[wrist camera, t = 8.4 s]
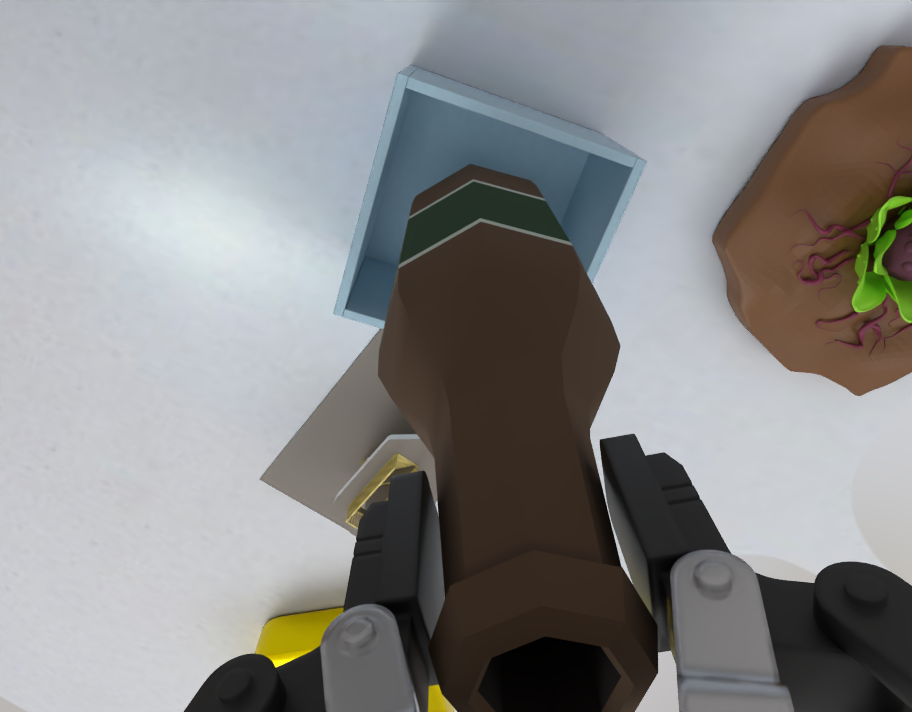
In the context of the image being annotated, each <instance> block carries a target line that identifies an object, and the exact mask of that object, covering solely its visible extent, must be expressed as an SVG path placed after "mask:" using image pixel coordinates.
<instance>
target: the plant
mask: <svg viewBox="0 0 912 712" xmlns="http://www.w3.org/2000/svg"><path fill="white" fill-rule="evenodd" d="M713 244H714V246H715V248H716V251H717V253H718V256H719V258H720V260H721V263H722V265H723V268H724V271H725V275H726V279H727V296H728V300H729V302H730V305H731V307H732V309H733V311H734V312H735V314H736V316H737V318H738V319H739V321H740V322H741V323H742V324H743V326H744V327H745V328H746V329H747V330H748V331H749V332H750V333H751V334H752V335H753V336H754V337H755V338H756V339H757V340H759V341H760V342H761V343H762V345H763V346H764V347H765V348H766V349H767V350H768V351H769V352H770V353H771V354H772V355H773V356H774V357H775V358H776V359H777V360H778V361H779V362H780V363H781V364H782V365H783V366H784V367H786V368H787V369H788V370H790V371H794V372H806V373H814V374H818V375H822V376H824V377H826V378H828V379H830V380H832V381H834V382H836V383H838V384H839V385H841V386H843V387H845V388H847V389H848V390H849V391H850V392H851V393H853V394H854V395H857V396H861V395H863V394H865V393H867V392H869V391H872V390H874V389H877V388H880V387H883V386H885V385H888V384H890V383H892V382H894V381H896V380H898V379H900V378H902V377H904V376H905V375H907V374H909V373H911V372H912V47H906V46H880V47H878V48H877V49H876V50H875V52H874V53H873V55H872V56H871V58H870V60H869V61H868V63H867V65H866V66H865V68H864V69H863V70H862V72H861V73H860V74H859V75H858V76H857V77H856V78H854V79H853V80H852V81H851V82H850V83H848V84H847V85H845V86H844V87H842V88H840V89H838V90H836V91H834V92H832V93H829V94H826V95H823V96H818V97H814V98H811V99H809V100H807V101H806V102H804V103H803V104H802V105H801V106H800V107H799V108H798V109H797V111H796V112H795V113H794V114H793V116H792V117H791V118H790V120H789V121H788V123H787V125H786V126H785V128H784V130H783V131H782V133H781V135H780V136H779V137H778V139H777V140H776V141H775V143H774V144H773V146H772V147H771V149H770V150H769V152H768V153H767V155H766V156H765V158H764V159H763V161H762V162H761V164H760V165H759V167H758V168H757V170H756V172H755V173H754V175H753V176H752V178H751V179H750V181H749V182H748V184H747V185H746V187H745V188H744V190H743V191H742V192H741V194H740V195H739V196H738V197H737V199H736V200H735V201H734V203H733V204H732V206H731V207H730V208H729V210H728V211H727V213H726V214H725V216H724V217H723V219H722V220H721V222H720V223H719V225H718V227H717V228H716V230H715V232H714V235H713Z"/></svg>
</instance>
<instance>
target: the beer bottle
mask: <svg viewBox="0 0 912 712" xmlns="http://www.w3.org/2000/svg"><path fill="white" fill-rule="evenodd" d="M619 350H620V343H619V341H618V338H617V335H616V333H615V330H614V327H613V325H612V322H611V320H610V318H609V316H608V314H607V312H606V310H605V308H604V306H603V304H602V302H601V300H600V298H599V296H598V294H597V292H596V290H595V288H594V287H593V285H592V283H591V281H590V279H589V277H588V275H587V273H586V271H585V269H584V267H583V265H582V263H581V261H580V259H579V257H578V255H577V253H576V251H575V249H574V247H573V245H572V244H571V242H570V240H569V239H568V237H567V235H566V234H565V232H564V230H563V229H562V227H561V225H560V224H559V222H558V220H557V219H556V217H555V215H554V214H553V212H552V210H551V209H550V207H549V205H548V204H547V202H546V200H545V199H544V197H543V196H542V194H541V192H540V191H539V189H538V187H537V186H536V185H535V184H534V183H533V182H532V181H531V180H528V179H524V178H520V177H517V176H513V175H509V174H506V173H502V172H499V171H495V170H491V169H488V168H484V167H480V166H477V165H473V164H469V165H467V166H465V167H464V168H462V169H460V170H459V171H457V172H455V173H454V174H452V175H450V176H448V177H447V178H445V179H443V180H442V181H440V182H438V183H437V184H435V185H433V186H432V187H430V188H428V189H426V190H425V191H423V192H421V193H420V194H418V195H416V196H415V198H414V200H413V202H412V206H411V210H410V214H409V218H408V222H407V227H406V231H405V235H404V239H403V243H402V248H401V252H400V256H399V260H398V264H397V269H396V273H395V278H394V283H393V287H392V292H391V296H390V301H389V306H388V310H387V315H386V320H385V324H384V329H383V333H382V338H381V343H380V347H379V358H378V377H379V378H380V380H381V382H382V384H383V385H384V387H385V389H386V390H387V392H388V394H389V395H390V397H391V399H392V400H393V402H394V403H395V404H396V406H397V407H398V409H399V410H400V411H401V413H402V414H403V415H404V417H405V418H406V420H407V421H408V422H409V424H410V425H411V427H412V428H413V429H414V431H415V432H416V434H417V435H418V436H419V438H420V439H421V440H422V442H423V443H424V445H425V446H426V447H427V449H428V450H429V452H430V453H431V454H432V456H433V457H434V460H435V473H436V486H437V499H438V513H439V526H440V539H441V552H442V566H443V579H444V592H445V601H444V604H443V607H442V609H441V612H440V615H439V618H438V621H437V623H436V626H435V629H434V632H433V635H432V637H431V640H430V643H429V646H428V651H429V654H430V658H431V661H432V664H433V667H434V671H435V674H436V677H437V680H438V684H439V687H440V690H441V693H442V695H443V696H444V697H445V698H446V699H447V700H448V702H449V703H450V704H451V705H452V706H453V707H454V708H455V709H456V710H457V712H635V710H636V708H637V707H638V705H639V703H640V702H641V700H642V699H643V697H644V695H645V694H646V692H647V690H648V689H649V687H650V685H651V684H652V682H653V680H654V679H655V677H656V675H657V674H658V625H657V623H656V621H655V620H654V618H653V617H652V615H651V613H650V612H649V610H648V609H647V607H646V605H645V604H644V602H643V600H642V599H641V597H640V596H639V594H638V592H637V591H636V589H635V587H634V586H633V584H632V583H631V581H630V579H629V578H628V576H627V574H626V573H625V571H624V570H623V568H622V567H621V563H620V559H619V555H618V551H617V547H616V543H615V539H614V535H613V531H612V526H611V522H610V518H609V514H608V510H607V506H606V502H605V498H604V494H603V489H602V485H601V481H600V477H599V473H598V469H597V465H596V461H595V457H594V452H593V448H592V444H591V440H590V428H591V425H592V423H593V421H594V418H595V416H596V413H597V411H598V409H599V406H600V404H601V402H602V399H603V397H604V395H605V392H606V390H607V388H608V385H609V383H610V381H611V378H612V376H613V374H614V371H615V367H616V362H617V358H618V354H619Z"/></svg>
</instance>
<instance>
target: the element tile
mask: <svg viewBox="0 0 912 712" xmlns="http://www.w3.org/2000/svg"><path fill="white" fill-rule="evenodd" d="M343 609H344V607H342V608H335V609H328V610H321V611H314V612H308V613H301V614H294V615H287V616H280V617H277V618H274V619H272V620H270V621H268V622H267V623H266V624H265V626H264V627H263V629H262V632H261V635H260V638H259V641H258V644H257V648H256V651H255V654H261V655H264V656H266V657H268V658H269V659H270V660H271V661H272V662H273V663H274V665H275V667H278V666H280V665H282V664H285V663H287V662H289V661H291V660H294V659H296V658H298V657H300V656H302V655H305V654H307V653H309V652H311V651H312V650H314V649H315V648H317V647H318V646H320V645H321V640H322V637H323V634H324V632H325V630H326V629H327V627H328V626H329V625H330V623H331V622H332V621H333V620H334V619H335V618H336V617H337V616H339V615H340V614H341V613H343ZM428 712H454V707H453V706H452V705H451V704H450V703H449V702H448V700H447V699H446V698H445V697H444V696H443V695H442V693H441V690H440V687H439V685H433V686H429V699H428Z"/></svg>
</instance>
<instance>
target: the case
mask: <svg viewBox="0 0 912 712" xmlns="http://www.w3.org/2000/svg"><path fill="white" fill-rule="evenodd" d="M646 162H647V161H646V160H644V159H642V158H641V157H639V156H638V155H636V154H634V153H633V152H631V151H629V150H628V149H626V148H625V147H623V146H621V145H620V144H618V143H616V142H615V141H613V140H612V139H610V138H608V137H607V136H605V135H603V134H601V133H599V132H596V131H593V130H590V129H587V128H585V127H582V126H579V125H576V124H574V123H571V122H568V121H565V120H562V119H560V118H557V117H554V116H551V115H549V114H546V113H543V112H540V111H537V110H535V109H532V108H529V107H526V106H524V105H521V104H518V103H515V102H512V101H510V100H507V99H504V98H501V97H499V96H496V95H493V94H490V93H487V92H485V91H482V90H479V89H476V88H474V87H471V86H468V85H465V84H462V83H460V82H457V81H454V80H451V79H449V78H446V77H443V76H440V75H437V74H435V73H432V72H429V71H426V70H423V69H421V68H418V67H415V66H412V65H410V66H408V67H407V68H405V69H403V70H402V71H400V72H398V73H397V77H396V81H395V84H394V88H393V92H392V96H391V99H390V103H389V107H388V110H387V114H386V118H385V122H384V125H383V129H382V133H381V137H380V140H379V144H378V148H377V152H376V155H375V159H374V163H373V167H372V170H371V174H370V178H369V182H368V185H367V189H366V193H365V197H364V200H363V204H362V208H361V211H360V215H359V219H358V223H357V226H356V230H355V234H354V238H353V241H352V245H351V249H350V253H349V256H348V260H347V264H346V268H345V271H344V275H343V279H342V283H341V286H340V290H339V294H338V298H337V301H336V305H335V309H334V313H333V314H334V315H337V316H341V317H342V316H343V317H344V318H347V319H351V320H354V321H358V322H361V323H364V324H368V325H371V326H374V327H378V328H381V329H384V324H385V320H386V315H387V310H388V306H389V301H390V296H391V292H392V287H393V283H394V278H395V273H396V269H397V264H398V260H399V256H400V252H401V248H402V243H403V239H404V235H405V231H406V227H407V222H408V218H409V214H410V210H411V206H412V202H413V200H414V198H415V196H416V195H418V194H420V193H421V192H423V191H425V190H426V189H428V188H430V187H432V186H433V185H435V184H437V183H438V182H440V181H442V180H443V179H445V178H447V177H448V176H450V175H452V174H454V173H455V172H457V171H459V170H460V169H462V168H464V167H465V166H467V165H469V164H473V165H477V166H480V167H484V168H488V169H491V170H495V171H499V172H502V173H506V174H509V175H513V176H517V177H520V178H524V179H528V180H531V181H532V182H533V183H534V184H535V185H536V186H537V187H538V189H539V191H540V192H541V194H542V196H543V197H544V199H545V200H546V202H547V204H548V205H549V207H550V209H551V210H552V212H553V214H554V215H555V217H556V219H557V220H558V222H559V224H560V225H561V227H562V229H563V230H564V232H565V234H566V235H567V237H568V239H569V240H570V242H571V244H572V245H573V247H574V249H575V251H576V253H577V255H578V257H579V259H580V261H581V263H582V265H583V267H584V269H585V271H586V273H587V275H588V277H589V279H590V281H591V283H593V281H594V278H595V276H596V274H597V272H598V270H599V267H600V265H601V263H602V261H603V258H604V256H605V254H606V252H607V249H608V247H609V245H610V243H611V241H612V238H613V236H614V234H615V232H616V229H617V227H618V225H619V223H620V220H621V218H622V216H623V214H624V211H625V209H626V207H627V205H628V203H629V200H630V198H631V196H632V194H633V191H634V189H635V187H636V185H637V182H638V180H639V178H640V176H641V174H642V171H643V169H644V167H645V165H646Z"/></svg>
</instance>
